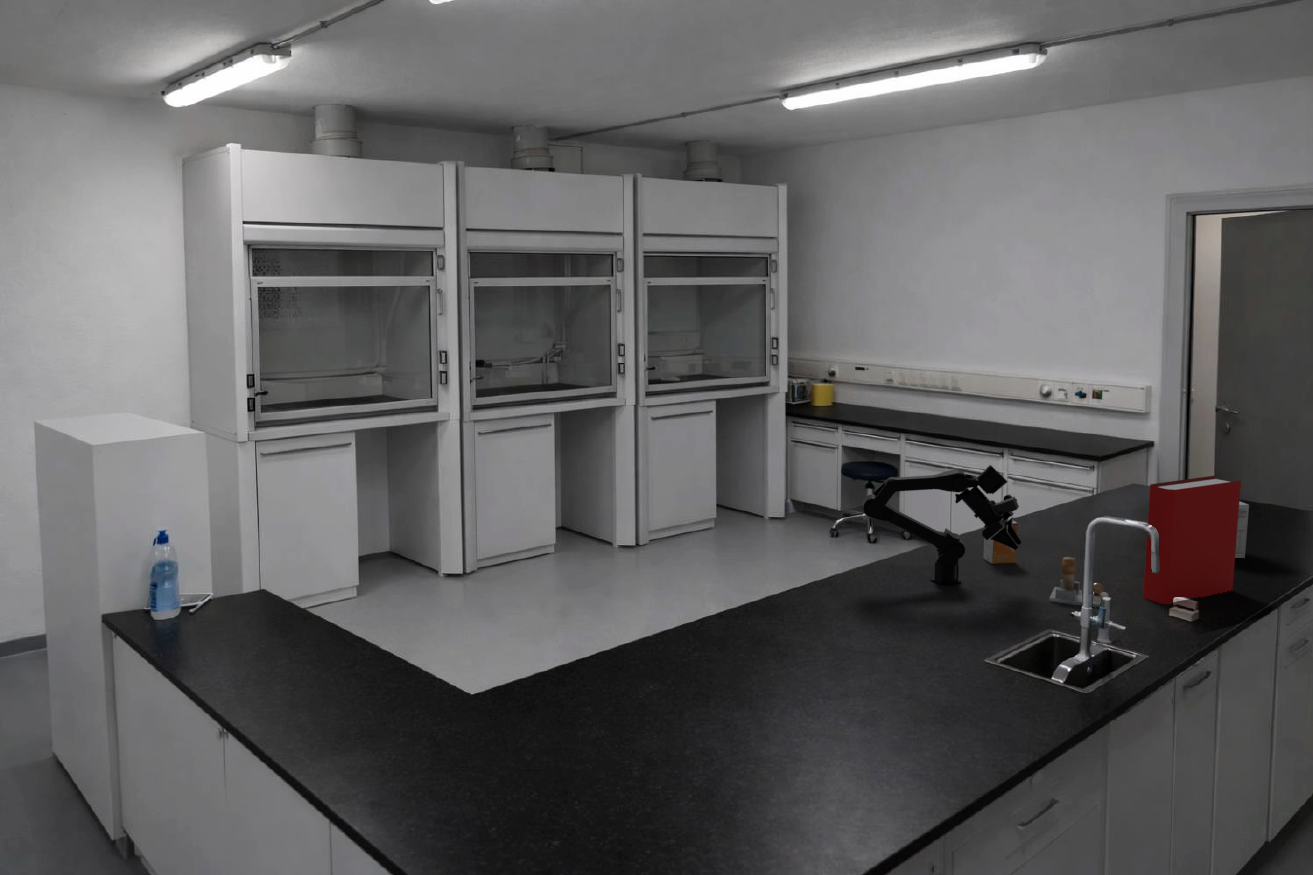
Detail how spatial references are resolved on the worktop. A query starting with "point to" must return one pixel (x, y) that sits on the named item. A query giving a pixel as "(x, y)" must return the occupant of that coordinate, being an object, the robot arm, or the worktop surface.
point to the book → (1192, 538)
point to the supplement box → (1242, 530)
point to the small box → (999, 550)
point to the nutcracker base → (1076, 594)
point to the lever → (1068, 572)
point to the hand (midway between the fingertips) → (1018, 546)
